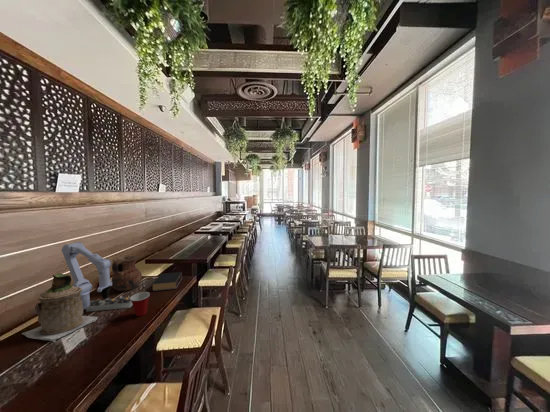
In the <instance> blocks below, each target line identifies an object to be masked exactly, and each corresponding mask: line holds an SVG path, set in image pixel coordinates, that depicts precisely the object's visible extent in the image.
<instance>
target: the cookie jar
mask: <svg viewBox="0 0 550 412" xmlns="http://www.w3.org/2000/svg"><path fill="white" fill-rule="evenodd" d="M52 277H53V278H52V282H51V287H50V288H48V289H47V290H46V291H44V292H41V293H40V295H39V297H38V301H39V302H37V303H36V305H35V306H34V310H35V313H36V315H37V322H38V323H39V325H40V326H37V327H35V328H32V329H30V330H27V331H24V332H22V333H21V335H24V336H25V337H26V338H28V339H35V340H41V341H46V342H47V341H50V342H53V343H56V341H57V340H59V339H62V338H63V337H65V336H68V335H69V334H71V333H73V332H75V331H77V330H79V329H82V328H83V327H85V326H88V325H90V324H92V322H93V323H94V322H97V321H96V320H98V316H93V315H91V316H90V315H89V316H88V315H84V310H83V303H82V299H81V294H80V293H81V292H82V288H81V287H75V286H72V284H71V283H72V276H71V275H70V274H64V273H56V274H52Z"/></svg>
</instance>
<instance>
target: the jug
mask: <svg viewBox="0 0 550 412" xmlns="http://www.w3.org/2000/svg"><path fill="white" fill-rule="evenodd" d="M138 258H139V256H136V255H133V256H121V257H119V258H115V259H112V261H111V262H112V263H111V269H112V270H111V271H112V273H113V275H112V277H111V281H112V285H111V286H112V287H113V288H114V289H115V290H116V291H117V292H127V291H133V290H135V289H136V288H137V287H138V286H139V285H140V284H141V282H142V279H143V274H142V272H141V271H140V270H139V269H138V268H137V267H136V264H137V259H138Z"/></svg>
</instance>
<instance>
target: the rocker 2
mask: <svg viewBox="0 0 550 412" xmlns="http://www.w3.org/2000/svg"><path fill="white" fill-rule="evenodd" d="M116 299H117V298H109V297H108V298H107V299H104V300H105V302H109V303H113V302H114V301H115V300H116Z"/></svg>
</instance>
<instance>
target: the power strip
mask: <svg viewBox="0 0 550 412" xmlns="http://www.w3.org/2000/svg"><path fill="white" fill-rule="evenodd" d="M128 298H129V300H128V301H123V300H122V301H119V298H115V299H116V300H115V301H114V302H113V303H109V302H105V299H103V300H101V301H100V302H98V303H96V304H95V303H93V304H92V305H90V304H89V305H88V306H86V309H85V312H86V313H89V312H100V311H110V310H112V311H113V310H121V309H129V308H131V307H132V306H133V304H132V301H131V300H130V297H128Z"/></svg>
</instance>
